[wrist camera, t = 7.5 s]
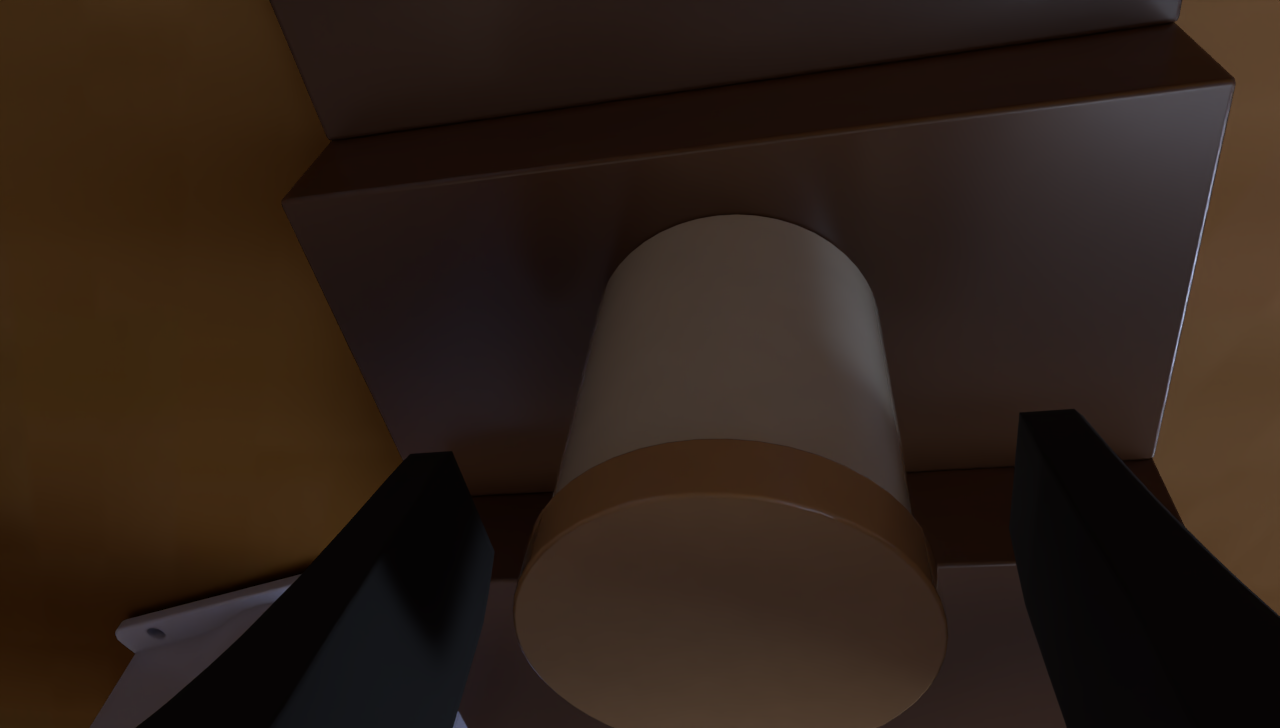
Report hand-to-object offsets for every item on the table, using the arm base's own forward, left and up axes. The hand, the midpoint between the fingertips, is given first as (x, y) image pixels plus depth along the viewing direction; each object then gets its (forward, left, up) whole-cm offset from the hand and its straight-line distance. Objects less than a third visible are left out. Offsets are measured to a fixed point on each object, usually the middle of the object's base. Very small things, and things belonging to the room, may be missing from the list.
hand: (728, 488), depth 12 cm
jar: (0, 0, -3) cm, 3 cm away
